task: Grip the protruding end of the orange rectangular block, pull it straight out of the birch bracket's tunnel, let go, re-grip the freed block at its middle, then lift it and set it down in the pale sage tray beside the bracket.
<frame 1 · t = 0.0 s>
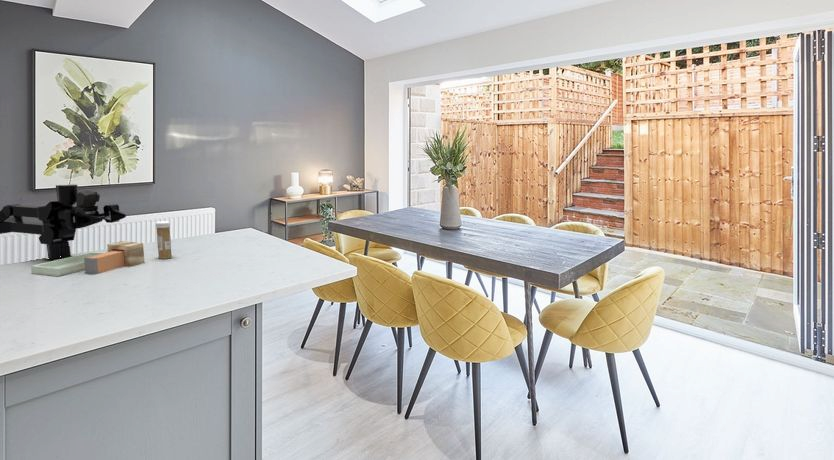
hand: (113, 217, 156), 17 cm above the table, tool horizontal, fingers open, 9 cm apart
sprinkles bottle: (165, 258, 171), on the table
orange rectangular block: (109, 268, 155), on the table
tray: (77, 266, 156), on the table
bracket: (126, 263, 162), on the table
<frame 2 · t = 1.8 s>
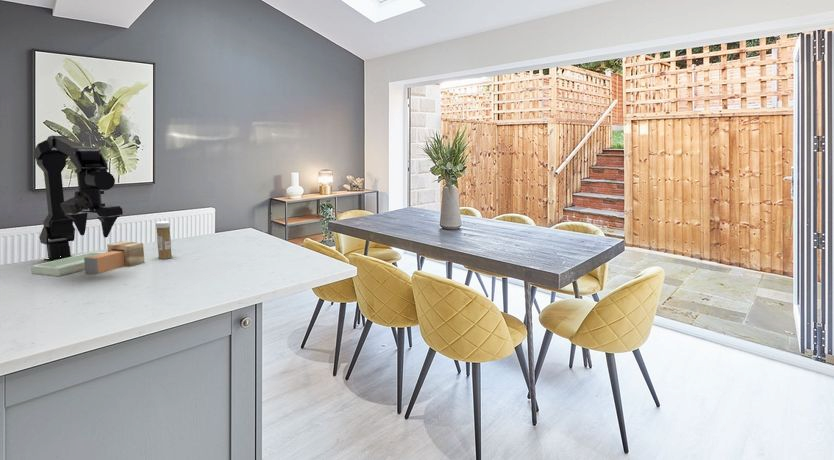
hand: (94, 236, 149), 12 cm above the table, tool pointing down, fingers open, 9 cm apart
nothing on the table moved.
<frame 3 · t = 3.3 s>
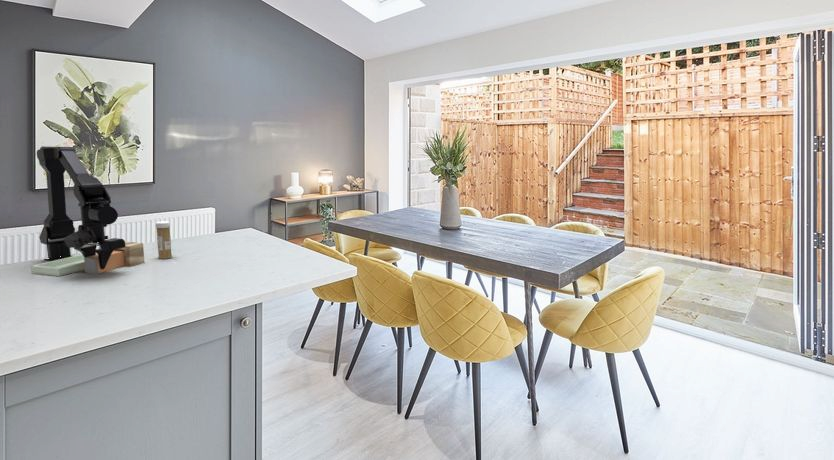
hand: (97, 268, 150), 1 cm above the table, tool pointing down, fingers closed on orange rectangular block, 4 cm apart
orange rectangular block: (109, 268, 155), on the table, touching gripper
everything else where it was.
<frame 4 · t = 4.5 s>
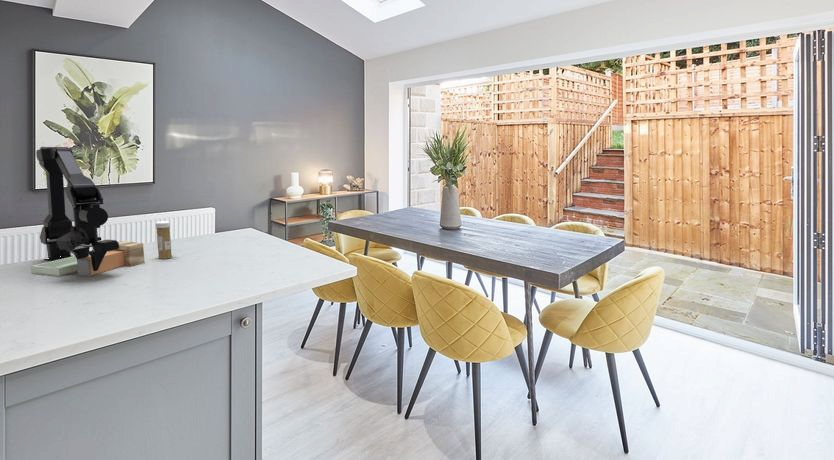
hand: (90, 270, 148), 1 cm above the table, tool pointing down, fingers closed on orange rectangular block, 4 cm apart
orange rectangular block: (103, 269, 153), on the table, touching gripper
everything else where it was.
when the fingers open (1 cm above the table, at t = 5.7 s): orange rectangular block stays where it is, on the table.
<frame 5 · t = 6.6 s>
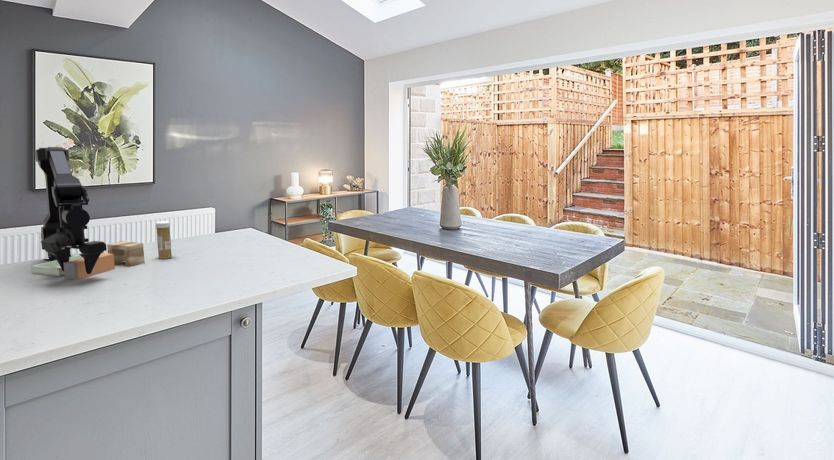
hand: (77, 272, 144), 1 cm above the table, tool pointing down, fingers open, 9 cm apart
orange rectangular block: (91, 273, 148), on the table
everything else where it was.
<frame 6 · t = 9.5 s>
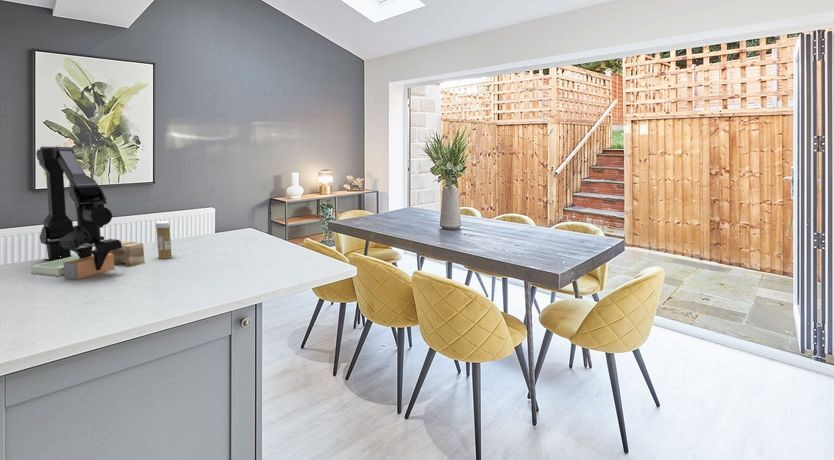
hand: (93, 269, 149), 1 cm above the table, tool pointing down, fingers closed on orange rectangular block, 4 cm apart
orange rectangular block: (90, 273, 148), on the table, touching gripper
everything else where it was.
when the fingers open (3 cm above the table, at t = 13.4 s): orange rectangular block drops 2 cm, resting on tray.
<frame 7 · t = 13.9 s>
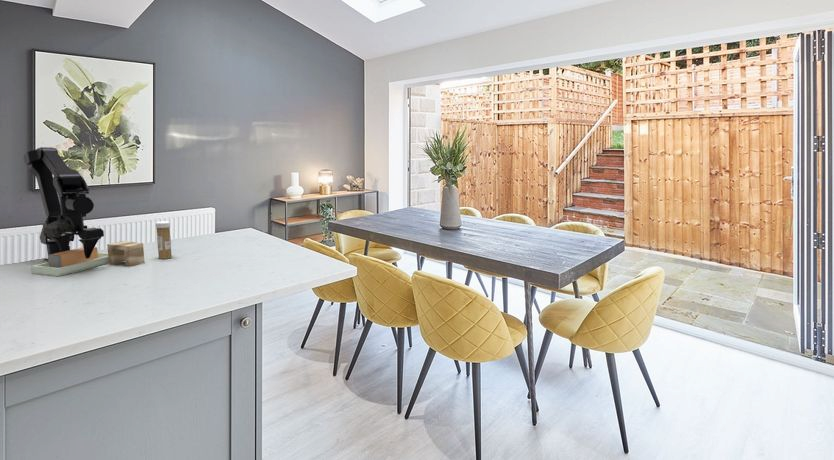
hand: (76, 257, 155), 3 cm above the table, tool pointing down, fingers open, 9 cm apart
orange rectangular block: (74, 265, 155), point 1 cm above the table, touching tray
everything else where it was.
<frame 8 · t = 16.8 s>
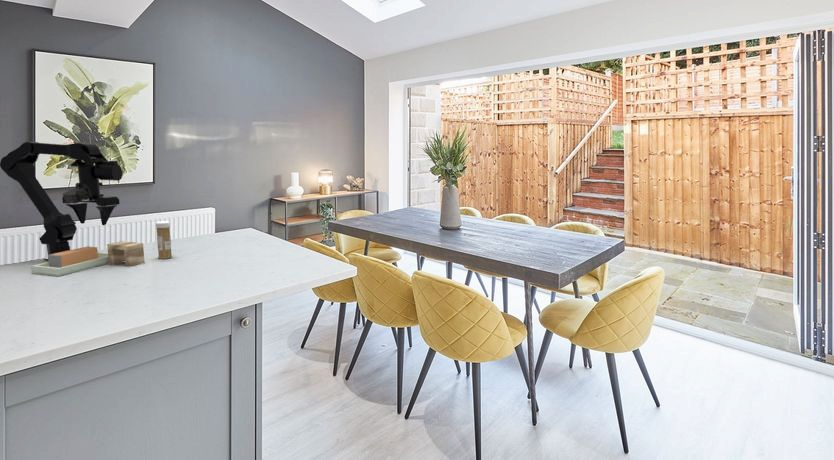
hand: (93, 224, 162), 13 cm above the table, tool pointing down, fingers open, 9 cm apart
nothing on the table moved.
at the end: orange rectangular block inside the target area on the tray (0.8 cm from its centre), point 0.6 cm above the tray's base; orange rectangular block point 0.6 cm above the table; the gripper is holding nothing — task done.
